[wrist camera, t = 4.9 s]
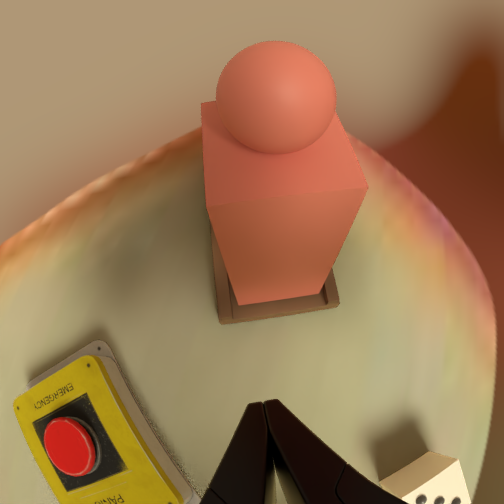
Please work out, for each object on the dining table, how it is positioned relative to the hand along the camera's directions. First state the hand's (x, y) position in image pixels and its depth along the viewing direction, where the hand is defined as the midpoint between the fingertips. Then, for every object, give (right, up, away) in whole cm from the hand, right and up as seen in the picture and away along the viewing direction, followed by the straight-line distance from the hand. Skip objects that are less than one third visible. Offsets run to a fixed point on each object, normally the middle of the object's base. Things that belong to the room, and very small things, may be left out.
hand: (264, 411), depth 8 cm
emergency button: (-11, -10, +9) cm, 17 cm away
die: (+10, -11, +6) cm, 17 cm away
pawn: (+1, +4, +12) cm, 13 cm away
